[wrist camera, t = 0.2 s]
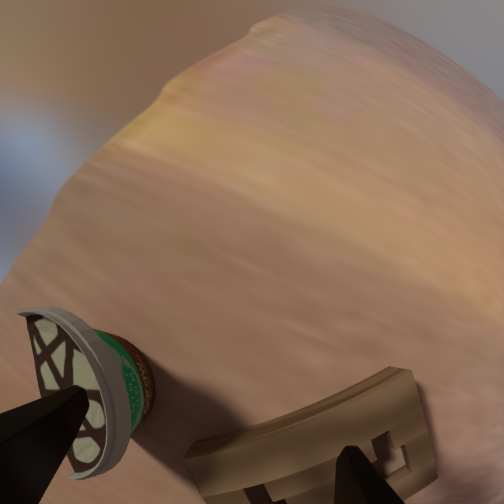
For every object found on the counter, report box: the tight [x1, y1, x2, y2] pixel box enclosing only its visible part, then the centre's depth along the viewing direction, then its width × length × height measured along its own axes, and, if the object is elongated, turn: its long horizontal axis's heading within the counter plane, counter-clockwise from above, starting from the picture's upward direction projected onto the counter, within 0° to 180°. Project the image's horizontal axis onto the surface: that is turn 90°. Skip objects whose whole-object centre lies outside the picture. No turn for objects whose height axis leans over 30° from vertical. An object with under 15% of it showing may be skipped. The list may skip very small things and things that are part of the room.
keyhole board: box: [183, 366, 438, 504], centre depth 17 cm, size 12×18×4 cm, turn 110°
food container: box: [16, 307, 155, 480], centre depth 17 cm, size 12×6×10 cm, turn 20°
